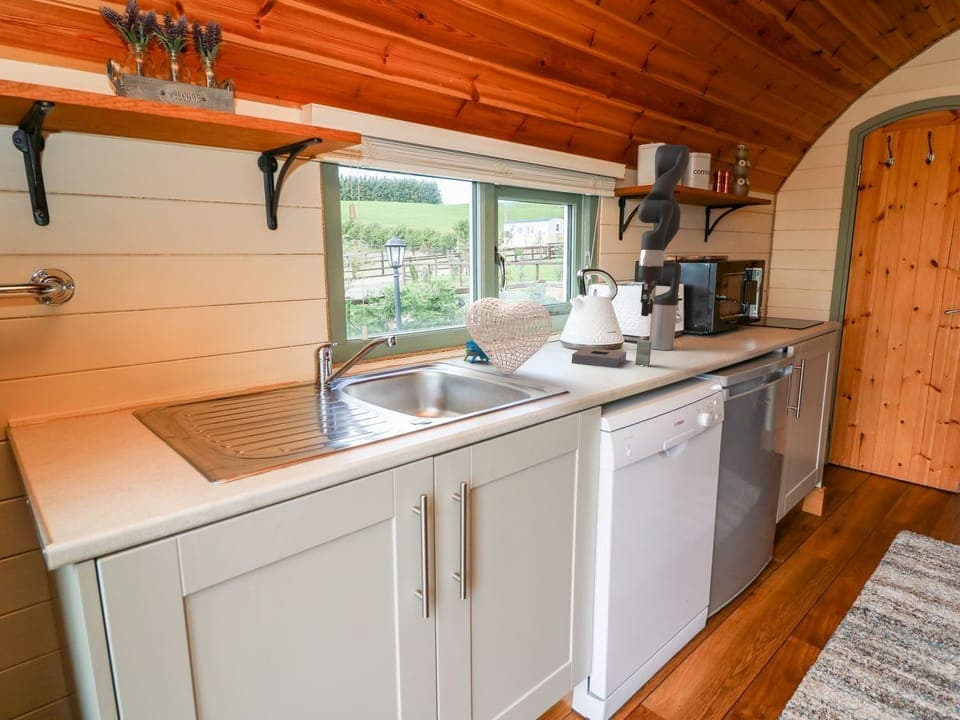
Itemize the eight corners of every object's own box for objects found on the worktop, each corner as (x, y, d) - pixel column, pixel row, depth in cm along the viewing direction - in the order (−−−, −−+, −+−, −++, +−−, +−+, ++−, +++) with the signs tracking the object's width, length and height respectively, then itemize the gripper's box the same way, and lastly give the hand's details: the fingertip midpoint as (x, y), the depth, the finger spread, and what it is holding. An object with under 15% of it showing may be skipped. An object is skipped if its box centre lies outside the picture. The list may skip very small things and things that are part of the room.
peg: (637, 363, 195) (639, 339, 194) (649, 364, 194) (651, 341, 192) (635, 365, 192) (637, 341, 190) (647, 366, 190) (649, 342, 189)
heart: (559, 378, 169) (563, 302, 165) (526, 386, 158) (529, 305, 154) (488, 363, 188) (490, 294, 184) (454, 369, 177) (455, 296, 173)
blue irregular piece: (499, 358, 188) (481, 338, 183) (490, 372, 186) (471, 352, 181) (478, 357, 197) (460, 338, 192) (469, 371, 195) (450, 351, 190)
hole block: (583, 355, 206) (583, 347, 206) (625, 360, 200) (626, 351, 200) (571, 362, 193) (572, 354, 192) (617, 367, 187) (617, 358, 186)
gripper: (642, 263, 194) (638, 312, 197) (635, 264, 181) (631, 316, 185) (665, 264, 191) (661, 313, 194) (660, 265, 178) (655, 317, 182)
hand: (646, 314), depth 189 cm, fingers open, 8 cm apart
